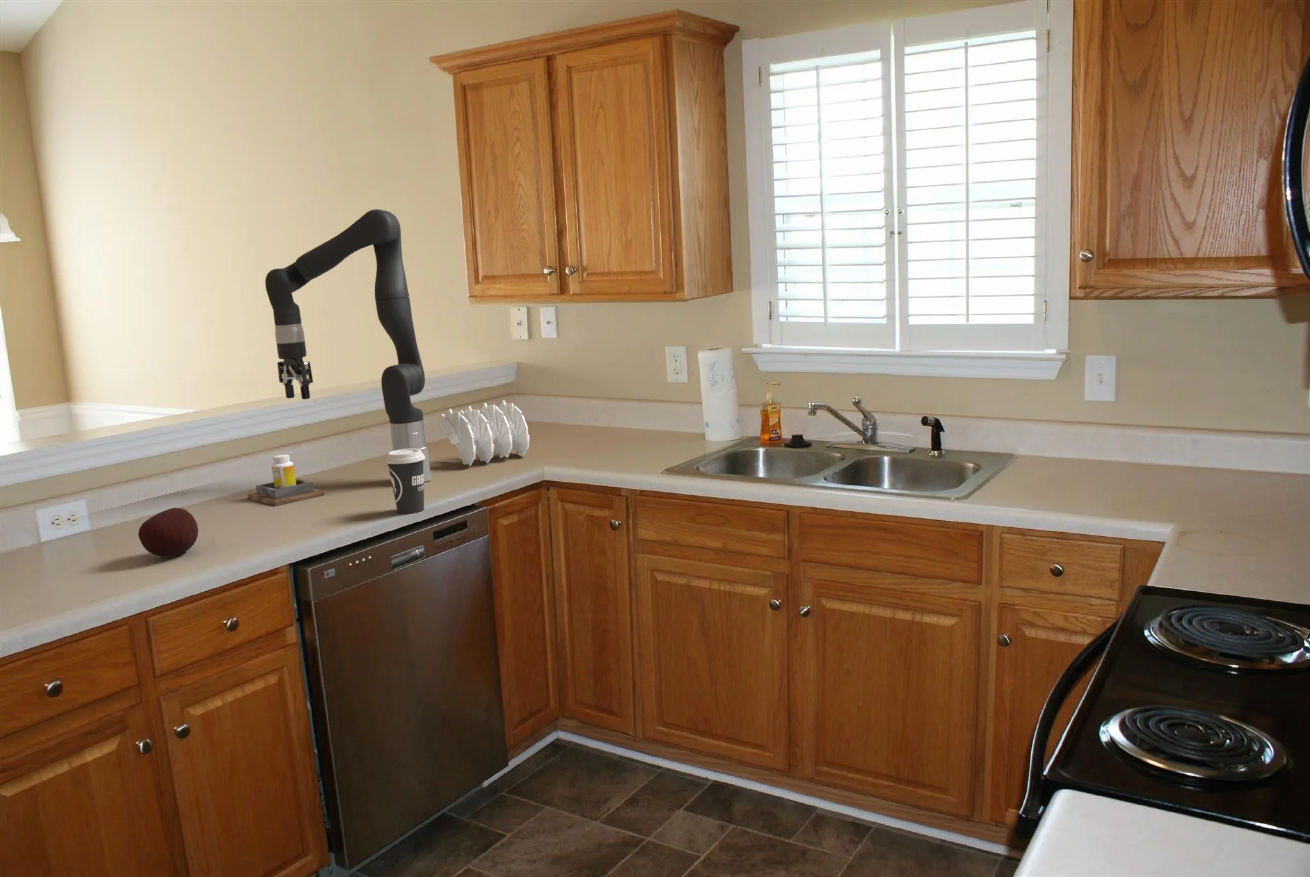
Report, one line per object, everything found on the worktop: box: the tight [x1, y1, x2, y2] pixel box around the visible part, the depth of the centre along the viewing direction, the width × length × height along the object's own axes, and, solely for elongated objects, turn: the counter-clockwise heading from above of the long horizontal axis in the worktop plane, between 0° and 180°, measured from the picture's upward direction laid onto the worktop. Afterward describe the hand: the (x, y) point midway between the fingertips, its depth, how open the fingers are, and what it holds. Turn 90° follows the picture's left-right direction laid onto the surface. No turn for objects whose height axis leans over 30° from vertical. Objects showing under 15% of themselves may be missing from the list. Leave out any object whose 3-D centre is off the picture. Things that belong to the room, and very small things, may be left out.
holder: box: [247, 477, 325, 507], centre depth 283 cm, size 16×14×4 cm
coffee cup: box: [385, 448, 425, 515], centre depth 257 cm, size 10×10×15 cm
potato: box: [137, 507, 199, 557], centre depth 229 cm, size 11×13×10 cm
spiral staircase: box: [439, 400, 531, 467], centre depth 314 cm, size 18×18×25 cm
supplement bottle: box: [271, 454, 296, 489], centre depth 282 cm, size 6×6×10 cm
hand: (298, 398), depth 291 cm, fingers open, 8 cm apart
